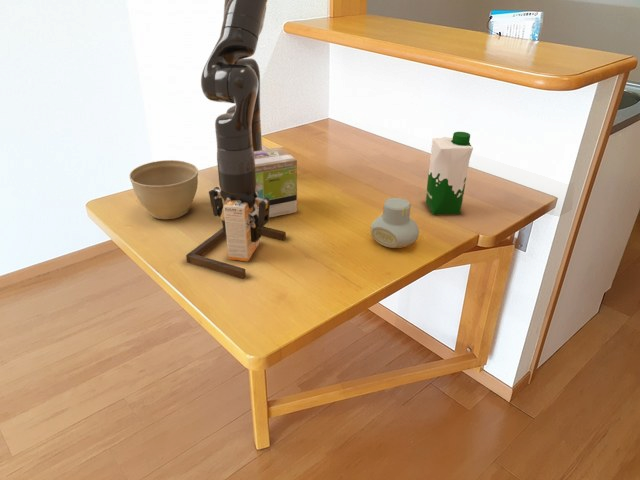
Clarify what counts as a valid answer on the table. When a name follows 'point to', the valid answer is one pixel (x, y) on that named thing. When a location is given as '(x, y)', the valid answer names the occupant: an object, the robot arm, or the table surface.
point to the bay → (199, 260)
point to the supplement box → (239, 231)
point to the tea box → (277, 180)
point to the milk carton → (448, 173)
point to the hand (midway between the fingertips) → (242, 236)
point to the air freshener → (395, 225)
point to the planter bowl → (165, 187)
